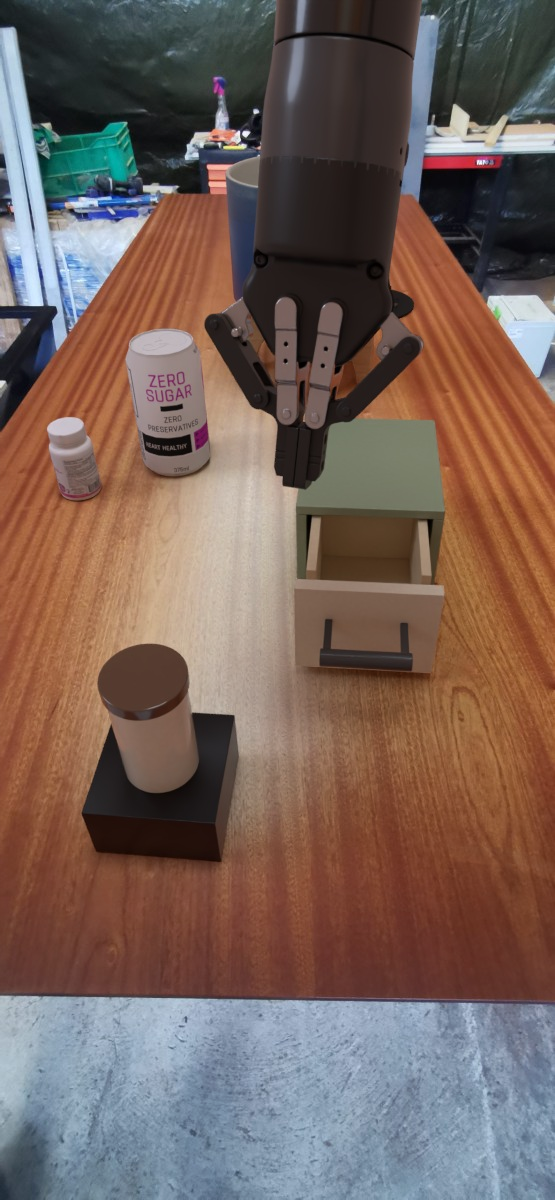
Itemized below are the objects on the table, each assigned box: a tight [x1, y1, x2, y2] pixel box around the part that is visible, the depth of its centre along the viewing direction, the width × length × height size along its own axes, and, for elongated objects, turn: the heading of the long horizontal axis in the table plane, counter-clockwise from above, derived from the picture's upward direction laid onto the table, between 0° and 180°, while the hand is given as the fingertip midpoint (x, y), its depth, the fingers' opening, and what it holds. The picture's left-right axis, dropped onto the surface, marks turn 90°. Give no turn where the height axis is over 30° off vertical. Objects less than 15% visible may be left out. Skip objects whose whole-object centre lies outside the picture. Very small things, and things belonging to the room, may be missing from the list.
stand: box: [80, 711, 240, 862], centre depth 53 cm, size 9×9×5 cm
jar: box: [96, 643, 199, 793], centre depth 49 cm, size 6×6×9 cm
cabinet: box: [295, 417, 446, 585], centre depth 73 cm, size 16×13×11 cm
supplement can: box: [125, 328, 211, 477], centre depth 85 cm, size 8×8×15 cm
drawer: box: [293, 515, 445, 674], centre depth 63 cm, size 19×12×9 cm, turn 174°
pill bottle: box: [46, 416, 102, 501], centre depth 83 cm, size 5×5×8 cm
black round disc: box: [390, 285, 415, 320], centre depth 124 cm, size 15×15×6 cm
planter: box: [225, 155, 375, 385], centre depth 98 cm, size 19×19×26 cm
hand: (297, 485), depth 45 cm, fingers closed
